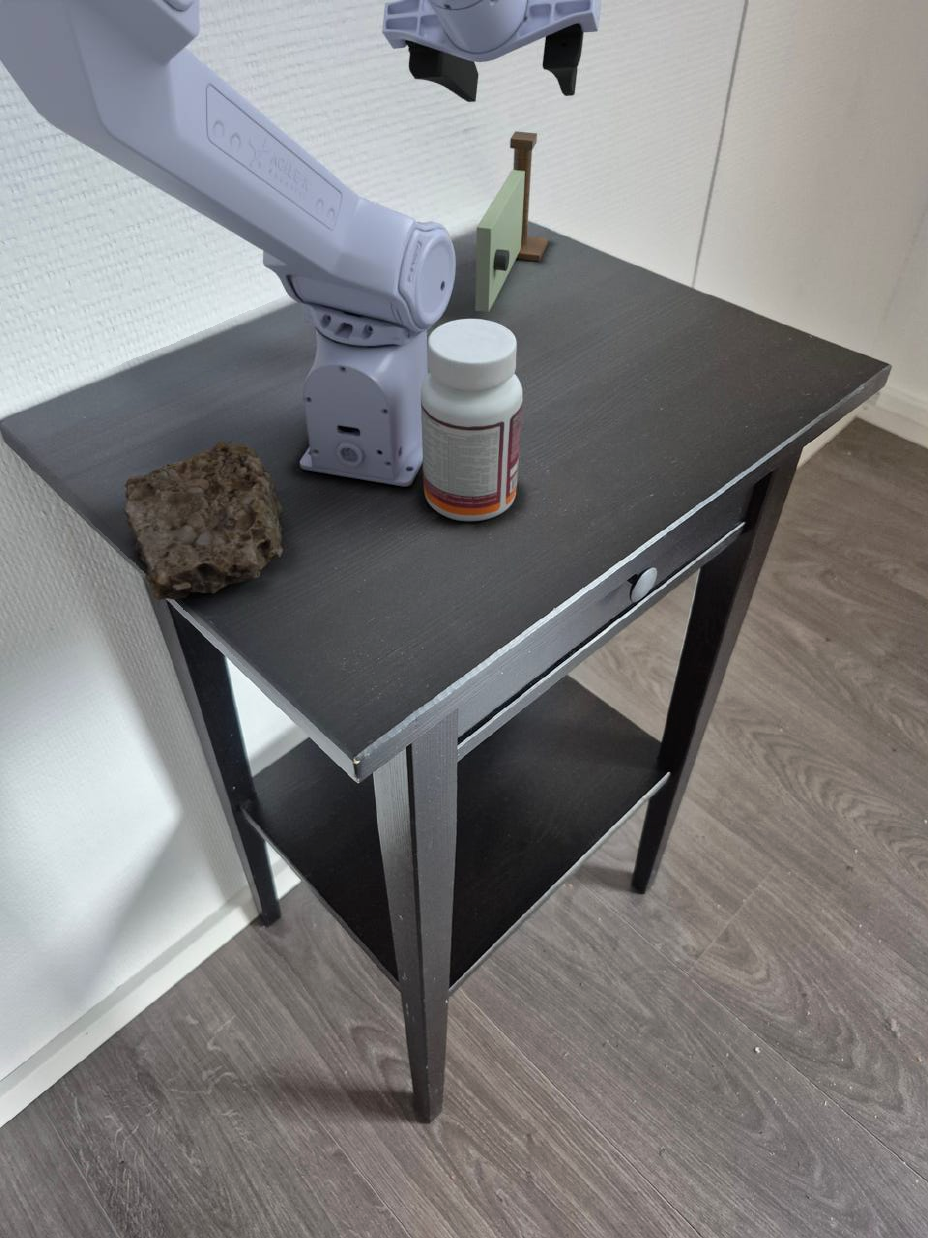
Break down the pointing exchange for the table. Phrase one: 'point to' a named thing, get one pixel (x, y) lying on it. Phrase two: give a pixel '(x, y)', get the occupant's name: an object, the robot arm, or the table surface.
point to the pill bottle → (471, 420)
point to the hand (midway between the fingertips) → (521, 85)
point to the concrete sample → (205, 521)
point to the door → (499, 240)
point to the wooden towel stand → (526, 193)
